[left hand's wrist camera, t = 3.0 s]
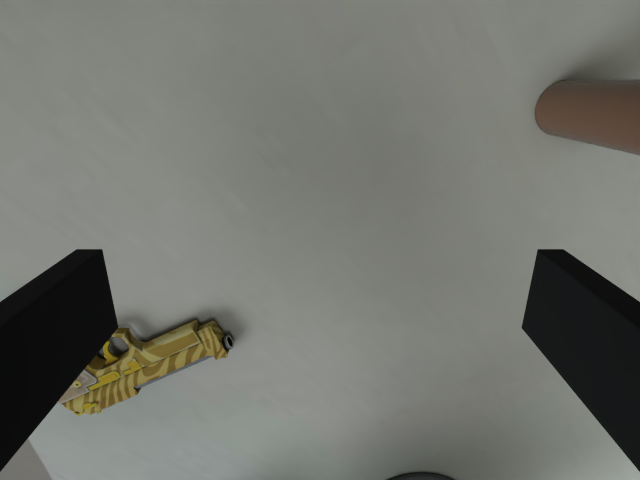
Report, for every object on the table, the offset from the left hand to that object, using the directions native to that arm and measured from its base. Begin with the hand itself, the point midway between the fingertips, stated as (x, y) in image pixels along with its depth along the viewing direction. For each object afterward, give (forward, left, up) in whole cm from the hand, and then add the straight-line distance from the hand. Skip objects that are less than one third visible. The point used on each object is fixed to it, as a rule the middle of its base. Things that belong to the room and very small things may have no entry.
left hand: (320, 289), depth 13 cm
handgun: (-20, +23, -28) cm, 41 cm away
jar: (+4, -22, -28) cm, 36 cm away
